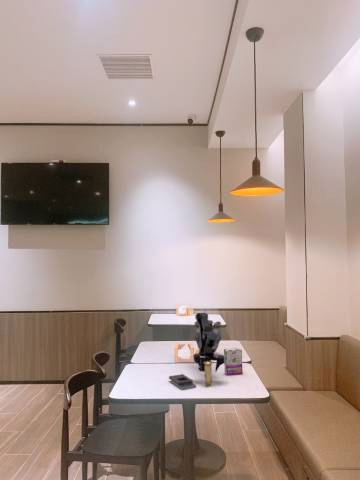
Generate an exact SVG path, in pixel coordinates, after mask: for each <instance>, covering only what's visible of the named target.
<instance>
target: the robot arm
mask: <svg viewBox="0 0 360 480" xmlns="http://www.w3.org/2000/svg"><path fill="white" fill-rule="evenodd" d="M194 317H195V318H194V319H195V320H196V321H195V322H197V323H198V325H199V330H200V341H201V347H200V349H199V348H198V353H195V354H194V355H193V360H194V363H196V364H197V365H198V370H199V372H205V364H204V361H211V362H212V361H216V364H215V368H214V369H215V370H214V371H215V373H217V371H218V369H220V367H221V366H222V365H224V354H217V355H216V356H215V357H214V355H215V353H216V351H217V350H216V347H215V343H216V339H217V335H216V333H214V332H213V329H211V328H210V325H209V322H208V320H209V314H208V313H206V312H197V313H196V314H195V316H194Z"/></svg>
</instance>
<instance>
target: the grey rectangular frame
mask: <svg viewBox="0 0 360 480" xmlns="http://www.w3.org/2000/svg"><path fill="white" fill-rule="evenodd" d="M168 379H169V380H170V381H171V384H172V385H174V386H175V387H176V388H177V389H179V390H180V391H185V390H190V389H196V388H197V384H195V383H194V381H193V379H192V378H190V377H188V376H186V375H185V374H175V375H169V376H168Z"/></svg>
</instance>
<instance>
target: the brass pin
mask: <svg viewBox="0 0 360 480" xmlns="http://www.w3.org/2000/svg"><path fill="white" fill-rule="evenodd" d="M204 364H205V371H204V386H205V387H206V388H207V387H208V388H209V387H212V386H213V385H212V365H213V362H212V360H211V361H204Z"/></svg>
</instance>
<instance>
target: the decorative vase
mask: <svg viewBox="0 0 360 480" xmlns="http://www.w3.org/2000/svg"><path fill="white" fill-rule="evenodd" d="M208 322H209V325H210V328H211V329H213V332H214V333H216V335H217V339H216V343H215V347H216V351H217V349H218V347H219V346H220V342H221V339H222V337H221V334H220V329H219V328H220V327H221V326H222V322H221V321H216V322H214V321H213V320H210V319H208ZM194 327H196V331H195V333H196V334H195V336H194V339H195V342H196V345H197V348H198V350H199V349H200V347H201V341H200V330H199V325H198V323H197V321H195V322H194ZM214 357H216V356H215V354H214Z"/></svg>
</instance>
